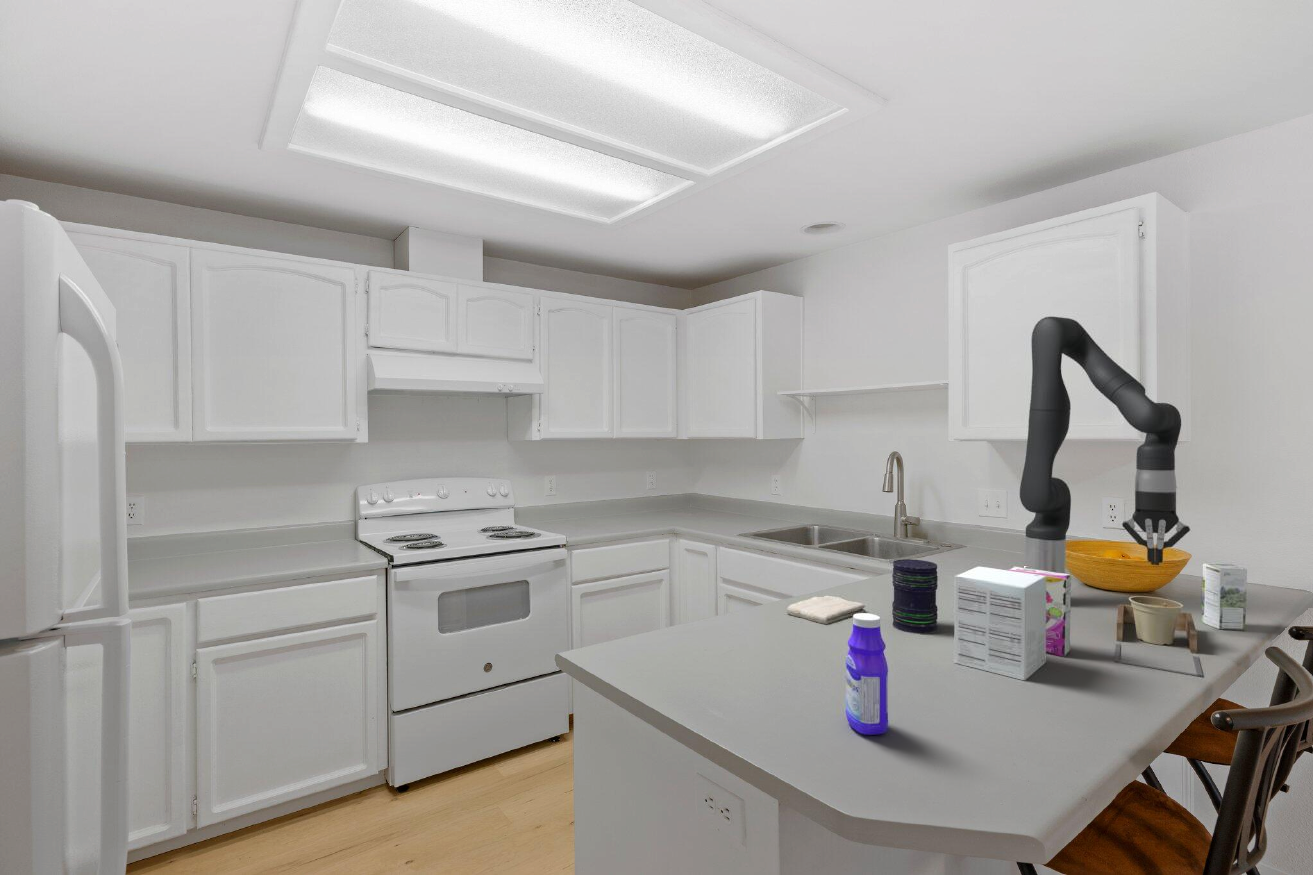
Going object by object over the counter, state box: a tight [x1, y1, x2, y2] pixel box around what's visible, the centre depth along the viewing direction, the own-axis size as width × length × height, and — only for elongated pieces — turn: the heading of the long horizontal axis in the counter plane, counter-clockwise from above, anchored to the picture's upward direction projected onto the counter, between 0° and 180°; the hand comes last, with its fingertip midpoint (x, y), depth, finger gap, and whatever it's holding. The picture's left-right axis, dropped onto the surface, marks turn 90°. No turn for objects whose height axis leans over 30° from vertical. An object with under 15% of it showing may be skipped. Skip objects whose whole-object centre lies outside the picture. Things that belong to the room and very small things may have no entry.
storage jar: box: [891, 558, 939, 635], centre depth 152 cm, size 10×10×15 cm
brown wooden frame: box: [1116, 603, 1198, 654], centre depth 145 cm, size 14×18×4 cm
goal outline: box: [1113, 643, 1204, 678], centre depth 130 cm, size 14×13×1 cm
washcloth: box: [786, 595, 866, 625], centre depth 164 cm, size 12×18×3 cm, turn 131°
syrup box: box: [1200, 562, 1248, 631], centre depth 152 cm, size 6×6×14 cm
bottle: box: [845, 612, 889, 736], centre depth 101 cm, size 7×6×17 cm
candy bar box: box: [1006, 566, 1072, 658], centre depth 137 cm, size 11×5×16 cm, turn 47°
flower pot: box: [1128, 595, 1184, 646], centre depth 142 cm, size 9×9×9 cm
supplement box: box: [953, 565, 1047, 681], centre depth 129 cm, size 13×13×18 cm
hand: (1155, 564), depth 150 cm, fingers closed
